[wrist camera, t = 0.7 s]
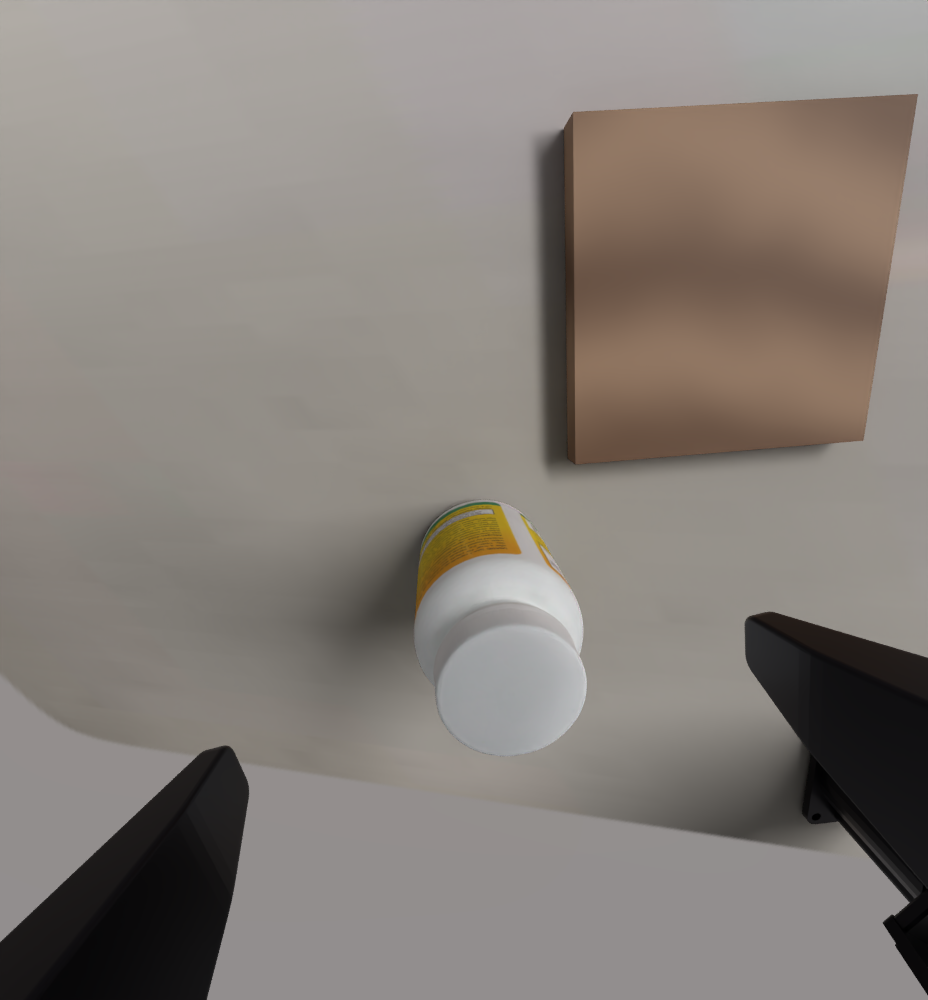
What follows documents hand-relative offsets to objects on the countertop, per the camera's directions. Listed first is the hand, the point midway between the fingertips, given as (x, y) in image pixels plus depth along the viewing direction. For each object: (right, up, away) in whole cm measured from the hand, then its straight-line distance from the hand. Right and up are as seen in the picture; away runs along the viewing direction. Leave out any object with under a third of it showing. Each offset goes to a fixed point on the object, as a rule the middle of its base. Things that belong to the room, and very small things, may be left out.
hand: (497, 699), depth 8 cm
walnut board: (+9, +11, +11) cm, 19 cm away
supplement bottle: (0, +1, +14) cm, 14 cm away
